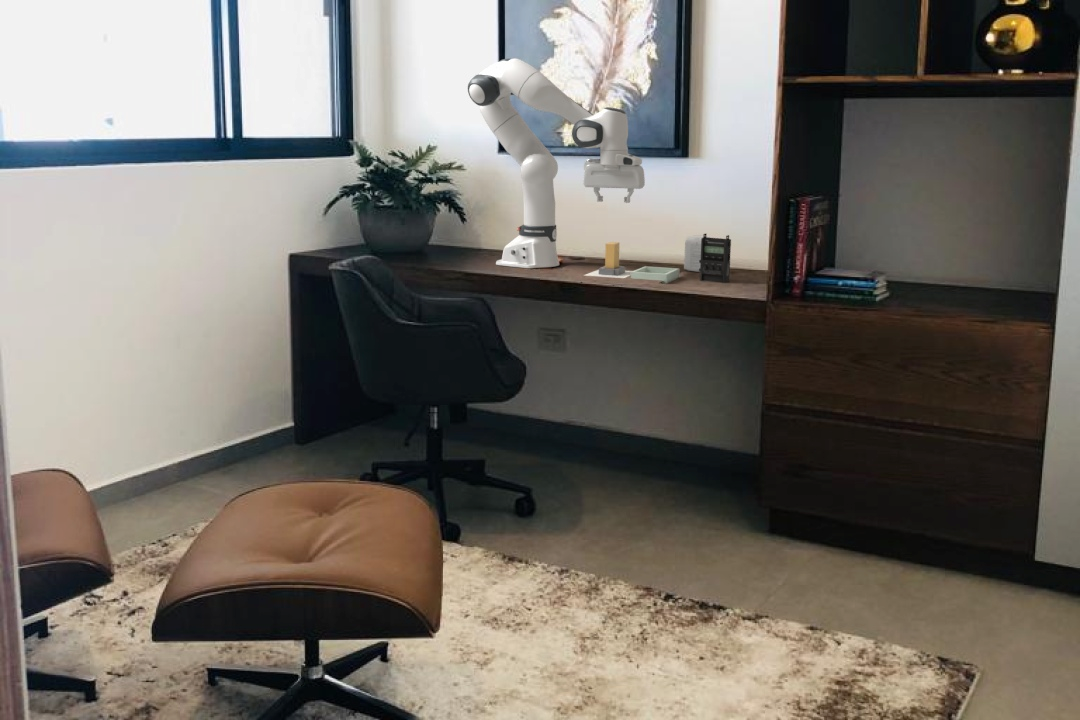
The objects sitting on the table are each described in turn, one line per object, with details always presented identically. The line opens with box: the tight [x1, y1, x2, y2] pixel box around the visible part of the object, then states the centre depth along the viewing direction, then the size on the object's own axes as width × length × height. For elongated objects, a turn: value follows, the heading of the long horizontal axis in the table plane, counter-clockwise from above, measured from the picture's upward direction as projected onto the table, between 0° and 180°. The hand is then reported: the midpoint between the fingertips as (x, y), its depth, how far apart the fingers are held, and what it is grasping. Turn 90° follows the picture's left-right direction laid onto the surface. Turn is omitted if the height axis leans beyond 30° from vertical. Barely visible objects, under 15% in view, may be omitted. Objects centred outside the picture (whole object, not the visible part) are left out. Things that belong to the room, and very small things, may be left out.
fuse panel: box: [583, 265, 633, 279], centre depth 366 cm, size 14×16×3 cm
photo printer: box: [683, 234, 711, 273], centre depth 376 cm, size 10×4×12 cm, turn 56°
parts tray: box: [630, 265, 680, 285], centre depth 360 cm, size 12×14×3 cm
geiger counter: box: [699, 233, 732, 284], centre depth 356 cm, size 10×4×15 cm, turn 56°
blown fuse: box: [604, 241, 620, 269], centre depth 365 cm, size 3×5×10 cm, turn 156°
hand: (613, 202), depth 361 cm, fingers open, 8 cm apart
